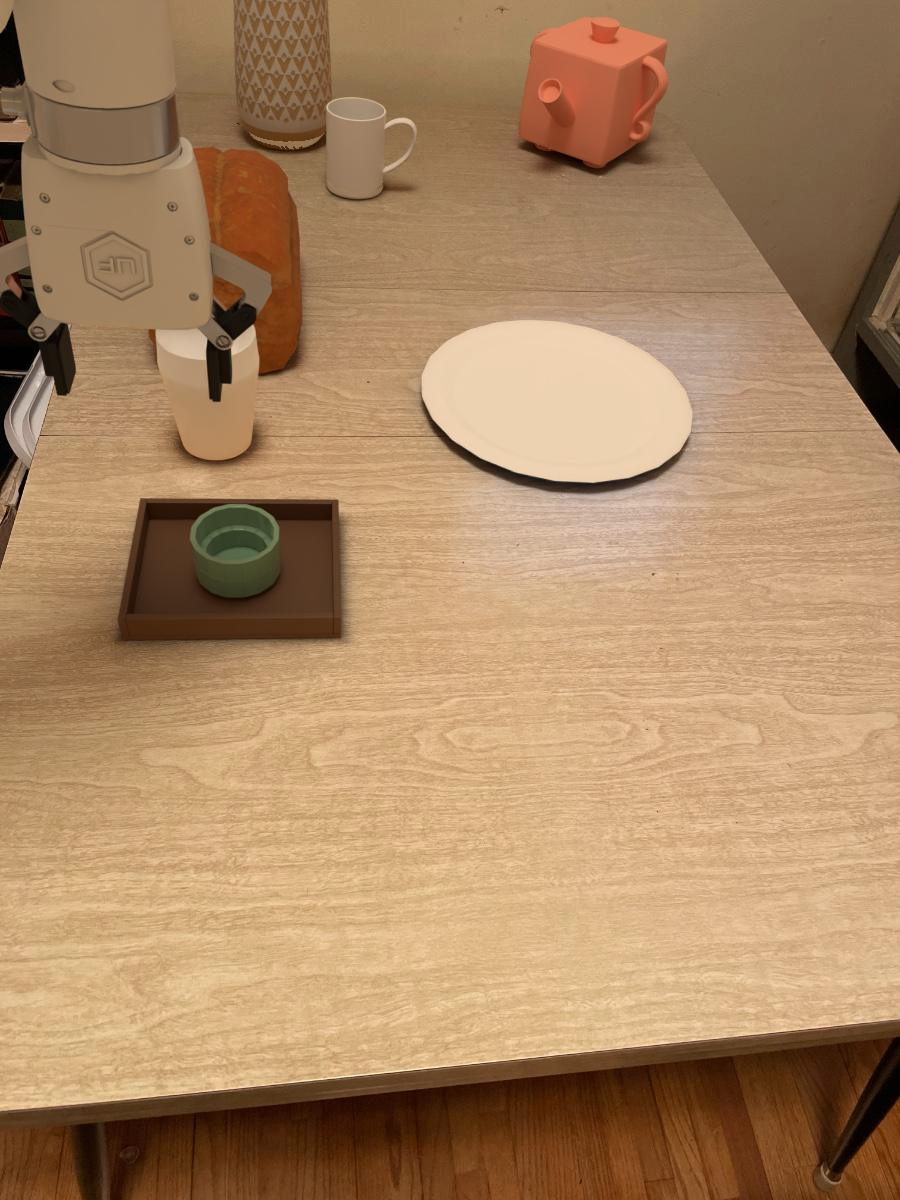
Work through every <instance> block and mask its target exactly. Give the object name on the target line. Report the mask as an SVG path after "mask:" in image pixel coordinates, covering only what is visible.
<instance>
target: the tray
mask: <svg viewBox="0 0 900 1200" xmlns="http://www.w3.org/2000/svg"><path fill="white" fill-rule="evenodd" d="M339 503H340V502H339V499H331V498H330V499H325V498H323V499H317V498H316V499H315V498H312V499H310V498H309V499H308V498H307V499H306V498H182V497H181V498H180V497H179V498H178V497H176V498H175V497H174V498H167V497H166V498H165V497H162V498H161V497H160V498H159V497H148V498H147V497H140V498H139V503H138V508H137V514H136V519H135V525H134V529H133V535H132V540H131V546H130V552H129V557H128V563H127V567H126V572H125V577H124V583H123V588H122V594H121V599H120V605H119V610H118V615H117V623H118V626H119V631H120V635H121V639H122V641H150V640H151V641H158V640H159V641H161V640H165V641H166V640H167V641H169V640H171V641H172V640H240V639H241V640H243V639H246V640H248V639H250V640H251V639H254V640H255V639H324V638H325V639H328V638H329V639H330V638H331V639H333V638H334V639H335V638H337V639H338V638H342V600H341V599H342V597H341V596H342V595H341V594H342V592H341V591H342V590H341V553H340V552H341V551H340V544H341V543H340V504H339ZM227 504H247V505H251V506H254V507H258V508H261V509H263V510H264V511H266V512H267V513H269V514H270V515H272V516H273V517H274V519H275V521H276V522H277V524H278V526H279V530H280V549H281V572H280V574H279V576H278V578H277V579H276V581H275V582H274V584H273V585H271V586H270V587H268V588H267V589H266V590H264V591H263V592H261V593H259V594H255V595H252V596H249V597H244V598H228V597H227V598H226V597H223V596H220V595H216V594H213V593H211V592H210V591H208V590H207V589H206V588H204V587H203V586H202V585H200V583H199V581H198V579H197V577H196V575H195V571H194V564H193V558H192V551H191V544H190V533H191V527H192V525H193V524H194V523H195V521H196V520H197V519H198V517H199V516H201V515H202V514H204V513H206V512H207V511H209V510H211V509H212V508H215V507H219V506H223V505H227Z"/></svg>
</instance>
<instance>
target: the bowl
mask: <svg viewBox="0 0 900 1200" xmlns="http://www.w3.org/2000/svg"><path fill="white" fill-rule="evenodd" d="M190 544H191V551H192V558H193V564H194V571H195V575H196V577H197V579H198V581H199V583H200V585H202V586H203V587H204V588H206V589H207V590H208V591H210V592H211V593H213V594H216V595H220V596H223V597H226V598H227V597H228V598H244V597H249V596H252V595H255V594H259V593H261V592H263V591H264V590H266V589H267V588H268V587H270V586H271V585H273V584H274V582H275V581H276V579H277V578H278V576H279V574H280V572H281V549H280V530H279V526H278V524H277V522H276V521H275V519H274V517H273V516H272V515H270V514H269V513H267V512H266V511H264V510H263V509H261V508H258V507H254V506H251V505H247V504H227V505H223V506H219V507H215V508H212V509H211V510H209V511H207V512H206V513H204V514H202V515H201V516H199V517H198V519H197V520H196V521H195V523H194V524H193V525H192V527H191V533H190Z"/></svg>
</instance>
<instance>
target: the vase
mask: <svg viewBox="0 0 900 1200" xmlns="http://www.w3.org/2000/svg"><path fill="white" fill-rule="evenodd" d="M232 2H233V3H232V4H233V43H234V46H233V47H234V48H233V49H234V51H233V52H234V80H235V81H234V84H235V85H234V86H235V96H236V105H237V110H238V115H239V118H240V121H241V123H242V126H243V127H244V129H245V130H246V132H247V131H248V132H250V133H251V134H253V135H255V136H257V137H260V138H263V139H267V140H273V141H283V142H288V141H292V142H293V141H305V140H310V139H314V138H316V137H319V136H321V135H322V134H323V133H324V132H325V133H326V106H327V104H328V103H329V102H331V101H332V100H333V83H332V81H333V80H332V61H331V40H330V18H329V0H233V1H232ZM248 132H247V133H248ZM325 133H324V134H325ZM324 134H323V135H324ZM251 139H252V140H254V141H255V142H256V143H258V144H260V145H261V146H263V147H266V148H269V149H273V150H278V151H299V150H304V149H308V148H307V147H305V148H303V147H302V146H301V147H299V150H298V149H296V148H295V147H294V146H293V148H294V150H292V149H289V148H288V147H287V146H285V148H286V149H287V150H286V149H285V148H284V147H283V146H281V148H282V149H281V148H280V147H279V146H276V145H271V144H267V143H263V142H261V141H258V140H256V139H254V138H253V137H251ZM321 139H322V137H321V138H320V139H319V141H320V140H321ZM319 141H317V143H318V142H319ZM310 147H312V146H311V145H310Z"/></svg>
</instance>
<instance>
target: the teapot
mask: <svg viewBox="0 0 900 1200" xmlns="http://www.w3.org/2000/svg"><path fill="white" fill-rule="evenodd" d="M667 51H668V39H665V38H661V37H659V36H656V35H652V34H648V33H646V32H642V31H638V30H635V29H631V28H628V27H625V26H621V23H620V21H618V20H617V19H615V18H612V17H608V16H596V17H590V16H584V17H581V18H578V19H575V20H573V21H571V22H569V23H566V24H564V25H561V26H559V27H548V28H546V29H543V30H541V31H540V32H539V33H538V34H536V36H535V37H534V38H533V40H532V41H531V43H530V48H529V57H530V58H529V62H528V67H527V74H526V78H525V83H524V87H523V88H524V89H523V95H522V102H521V107H520V114H519V115H520V116H519V123H518V138H519V137H520V138H519V139H522V138H523V139H522V140H524V139H526V140H525V141H527V140H529V141H528V142H530V141H531V142H530V143H532V142H534V143H533V144H534V146H535V148H536V149H538V150H541V151H545V152H552V151H553V152H554V151H555V152H558V153H560V154H561V153H562V154H564V155H567V156H569V157H573V158H575V159H577V160H581V161H582V163H583V164H584V165H585V166H587V167H590V168H594V169H601V168H604V167H606V164H608V163H609V162H611V161H613V160H614V159H616V158H618V157H619V156H621V155H623V154H624V153H625V152H627V151H629V150H631V149H632V148H633V147H634V146H635V145H636V144H638V143H642V142H644V141H646V140H647V139H648V138H649V137H650V134H651V131H652V123H653V120H654V117H655V113H656V108H657V105H659V103H660V102H661V100H662V99H663V98H664V96H665V94H666V92H667V90H668V87H669V76H668V73H667V70H666V67H665V62H666V56H667ZM535 143H537V144H535ZM538 144H539V145H538ZM549 148H550V149H549Z"/></svg>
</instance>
